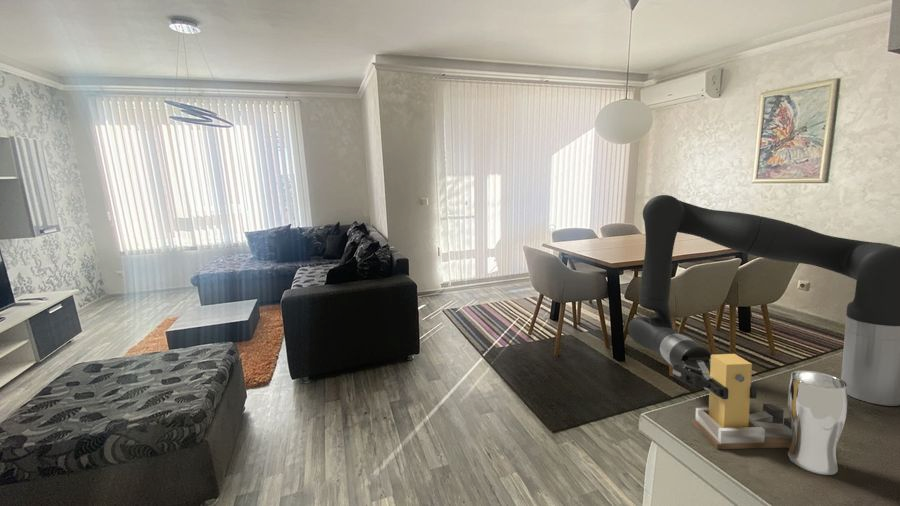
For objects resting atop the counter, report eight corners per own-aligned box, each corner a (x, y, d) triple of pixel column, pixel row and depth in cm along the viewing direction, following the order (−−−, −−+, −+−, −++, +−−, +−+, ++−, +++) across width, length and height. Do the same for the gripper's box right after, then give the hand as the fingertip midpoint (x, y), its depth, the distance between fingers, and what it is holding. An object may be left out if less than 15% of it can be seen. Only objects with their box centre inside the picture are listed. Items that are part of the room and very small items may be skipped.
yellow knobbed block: (729, 414, 74) (732, 352, 72) (750, 432, 69) (754, 365, 67) (706, 415, 74) (708, 353, 72) (725, 433, 69) (728, 366, 67)
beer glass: (783, 444, 68) (788, 366, 66) (838, 459, 64) (845, 376, 62) (785, 466, 63) (790, 382, 61) (845, 484, 59) (853, 394, 57)
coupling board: (773, 421, 75) (774, 402, 74) (809, 446, 67) (810, 426, 67) (691, 423, 76) (692, 405, 75) (716, 449, 68) (717, 428, 67)
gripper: (653, 340, 84) (700, 376, 67) (718, 338, 84) (782, 373, 67) (652, 372, 85) (699, 414, 68) (717, 369, 85) (780, 412, 68)
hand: (740, 393), depth 68 cm, fingers closed on yellow knobbed block, 4 cm apart
